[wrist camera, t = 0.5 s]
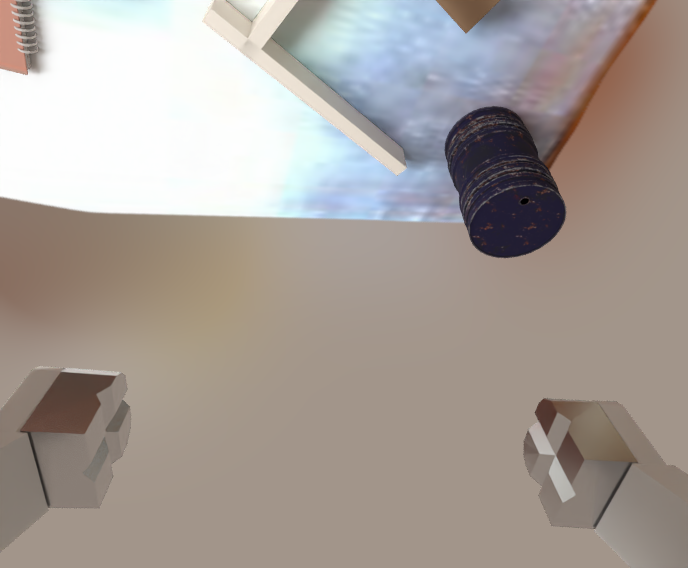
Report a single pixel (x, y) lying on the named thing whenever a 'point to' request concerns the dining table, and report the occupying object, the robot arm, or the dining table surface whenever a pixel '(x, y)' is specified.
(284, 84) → the corner fence
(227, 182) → the dining table surface
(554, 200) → the rusty oil barrel
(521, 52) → the dining table surface
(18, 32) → the notebook
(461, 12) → the t block
